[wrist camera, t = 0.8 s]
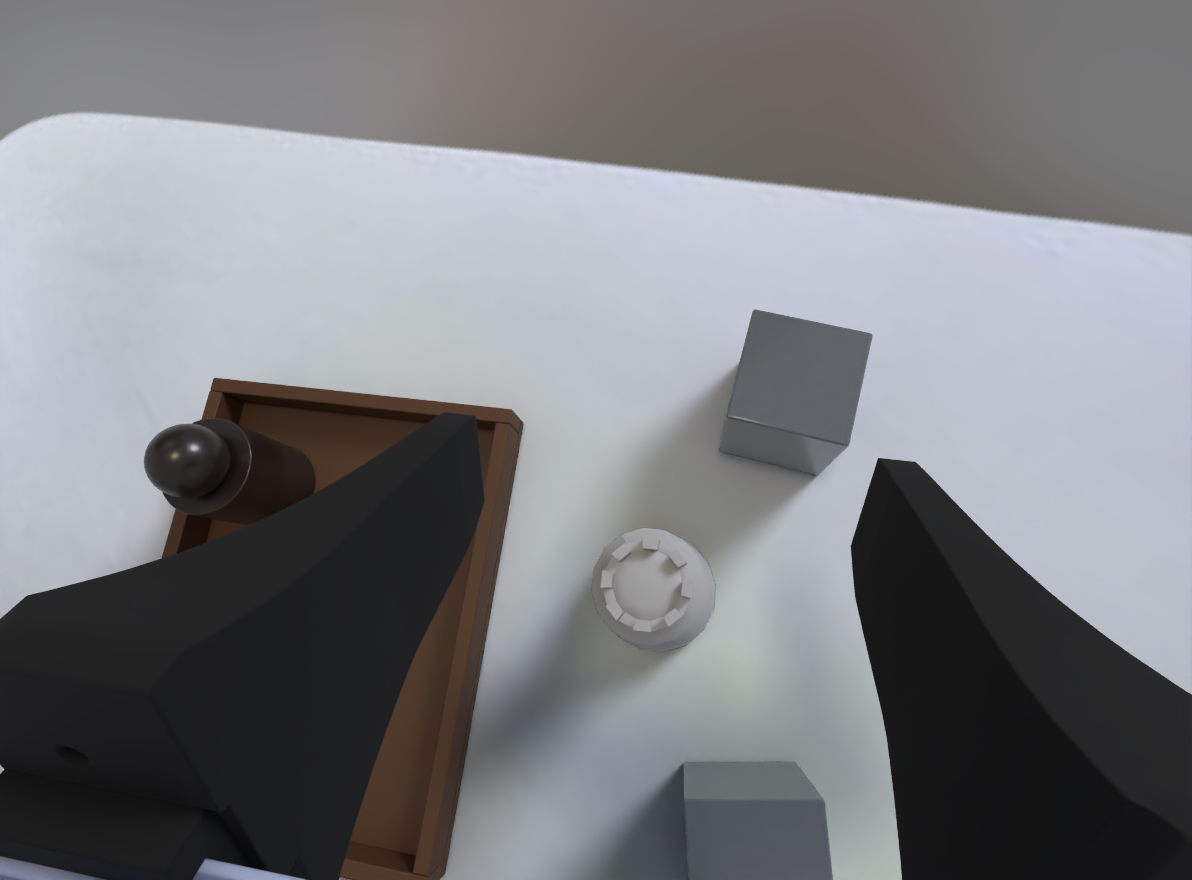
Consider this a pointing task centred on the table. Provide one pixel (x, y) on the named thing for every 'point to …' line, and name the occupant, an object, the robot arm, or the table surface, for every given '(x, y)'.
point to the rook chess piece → (653, 589)
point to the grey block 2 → (754, 822)
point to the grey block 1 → (795, 392)
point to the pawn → (227, 471)
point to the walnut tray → (454, 637)
